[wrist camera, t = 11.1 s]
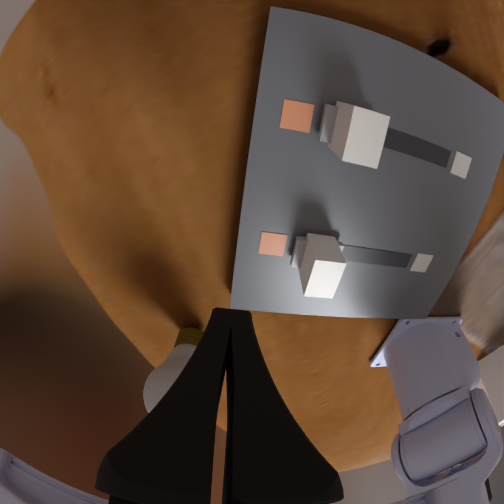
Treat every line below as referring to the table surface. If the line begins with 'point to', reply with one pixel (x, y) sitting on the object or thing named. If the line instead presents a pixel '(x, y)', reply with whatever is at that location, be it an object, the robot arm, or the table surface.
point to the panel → (361, 171)
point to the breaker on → (318, 264)
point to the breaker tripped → (354, 133)
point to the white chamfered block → (494, 381)
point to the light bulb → (171, 366)
